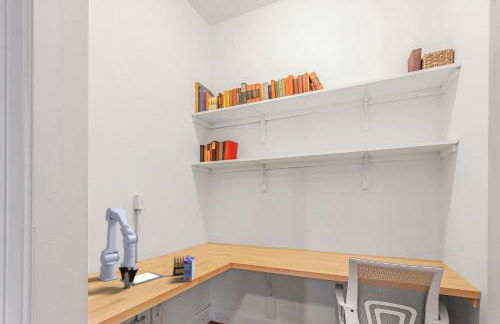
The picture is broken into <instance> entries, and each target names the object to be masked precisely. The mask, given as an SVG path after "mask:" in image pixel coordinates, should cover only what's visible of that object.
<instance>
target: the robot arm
mask: <svg viewBox="0 0 500 324" xmlns="http://www.w3.org/2000/svg"><path fill="white" fill-rule="evenodd" d="M126 211H127V210H126V208H125V206H121V207H108V208H107V209H106V211H105V221H107V232H106V247H105V248H104V249H103V250H102V251H101V253H100V254H101V255H100V257H99V262H100V264H101V266H100V267H99V277H97V279H98V280H101V281H103V282H109V281H112V280H116V279H118V278H119V277H118V276H116V272H117V271H116V270H117V264H118V262H119V261H120V258H121V254H120V249H119V248H118V247H116V243H117V242H116V241H117V224H119V226H120V229H119V230H120V233H121V236H122V244H123V246H122V247H123V261H121V262H120V266H119V267H118V270H119V272H120V277H121V279H122V280H125V273H126V272H128V276H129V283H132V282H133V281H134V278H135V275H137V272H138V271H139V268H138V265H137V264H136V263H135V261H136V260H135V257H136V256H135V255H136V244H138V241H139V237H138V234H137V233H136V232H134V231H133V229H132V226H131V224H128V221H127V219H126V213H127V212H126ZM117 222H118V223H117Z"/></svg>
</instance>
